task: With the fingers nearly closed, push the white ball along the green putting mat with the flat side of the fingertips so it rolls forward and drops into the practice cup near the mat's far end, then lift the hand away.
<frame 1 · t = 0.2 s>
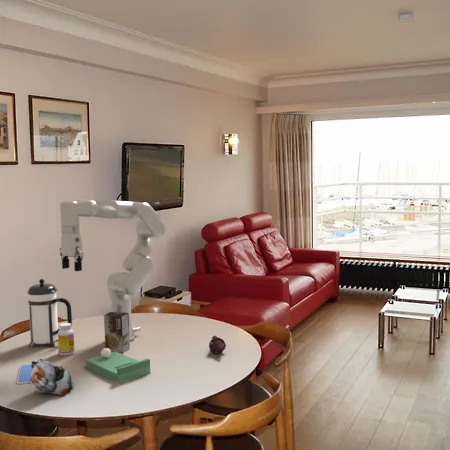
hand: (71, 269, 241), 36 cm above the table, tool pointing down, fingers open, 9 cm apart
lucky cat figurine: (53, 392, 201), on the table
coffee box: (117, 350, 246), on the table
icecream: (217, 353, 240), on the table
coffee press: (48, 343, 256), on the table
supplement bottle: (66, 353, 242), on the table
green: (117, 369, 221), on the table
ball: (106, 357, 227), point 3 cm above the table, touching green
tablet computer: (35, 375, 219), on the table
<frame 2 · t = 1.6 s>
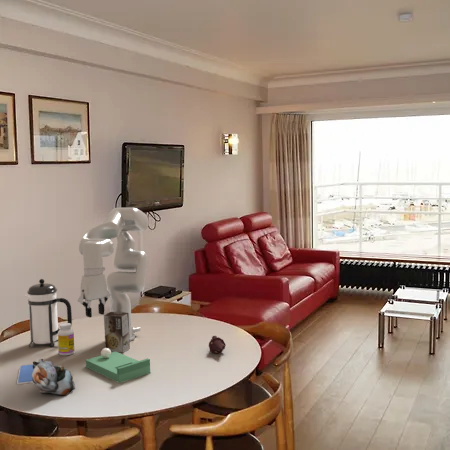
hand: (95, 314, 230), 19 cm above the table, tool pointing down, fingers open, 5 cm apart
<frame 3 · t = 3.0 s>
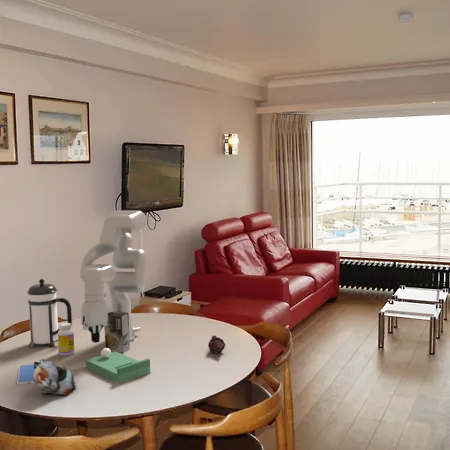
hand: (95, 341, 230), 8 cm above the table, tool pointing down, fingers closed
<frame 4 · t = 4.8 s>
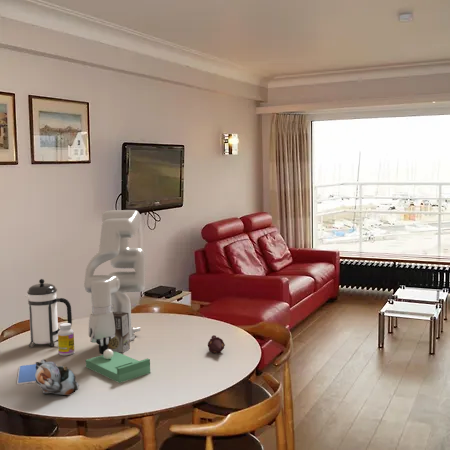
hand: (103, 353, 228), 4 cm above the table, tool pointing down, fingers closed
ball: (106, 356, 226), point 4 cm above the table, tilted 52°, touching green
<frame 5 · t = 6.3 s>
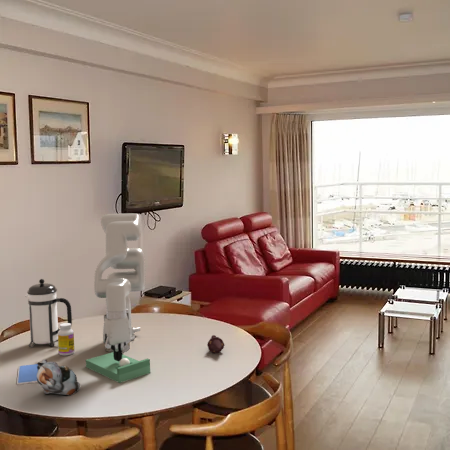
hand: (118, 360, 220), 4 cm above the table, tool pointing down, fingers closed
ball: (123, 366, 218), point 3 cm above the table, tilted 34°, touching green
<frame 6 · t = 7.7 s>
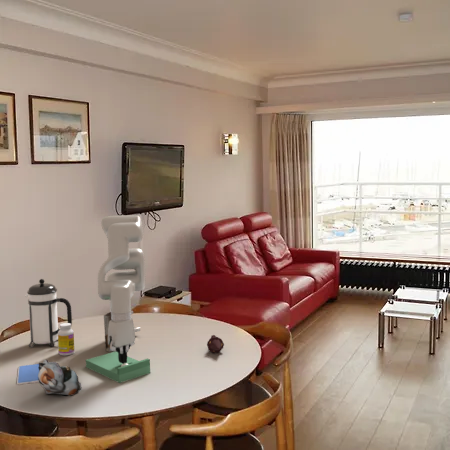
hand: (122, 362, 218), 4 cm above the table, tool pointing down, fingers closed
ball: (122, 369, 218), point 1 cm above the table, tilted 66°, touching green, gripper
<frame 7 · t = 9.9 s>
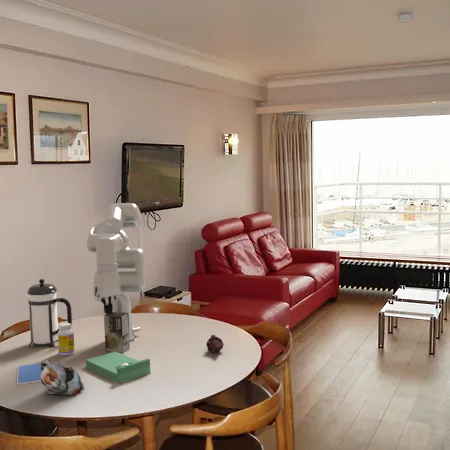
hand: (108, 313, 223), 22 cm above the table, tool pointing down, fingers closed
ball: (122, 369, 218), point 1 cm above the table, tilted 66°, touching green
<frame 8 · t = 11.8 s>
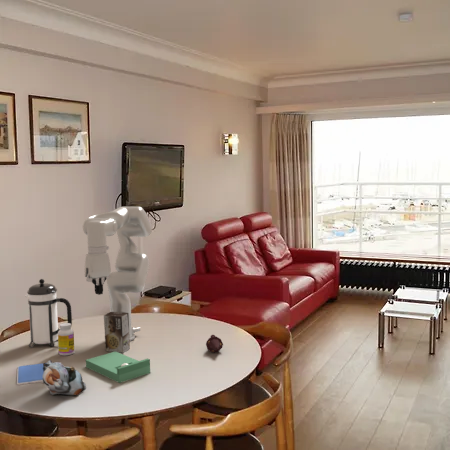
hand: (99, 293, 234), 27 cm above the table, tool pointing down, fingers closed
at the end: ball inside the target area on the green (2.8 cm from its centre), point 1.4 cm above the green's base; the gripper is holding nothing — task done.
